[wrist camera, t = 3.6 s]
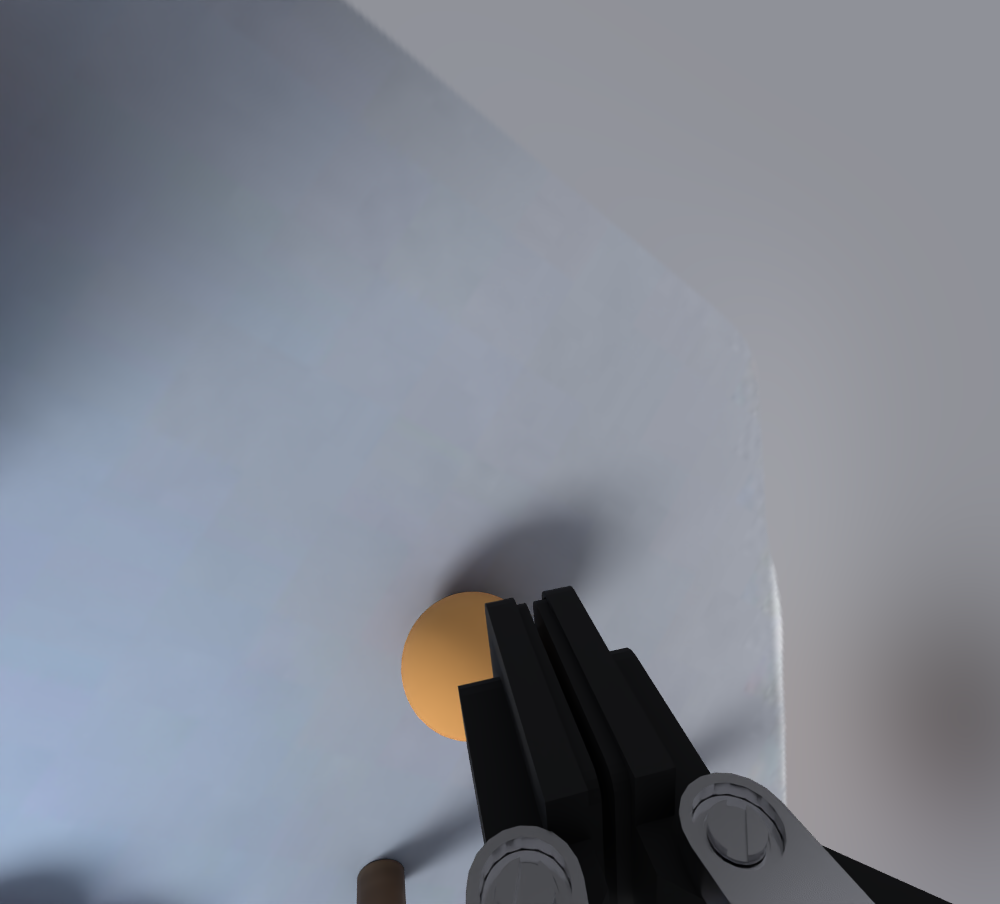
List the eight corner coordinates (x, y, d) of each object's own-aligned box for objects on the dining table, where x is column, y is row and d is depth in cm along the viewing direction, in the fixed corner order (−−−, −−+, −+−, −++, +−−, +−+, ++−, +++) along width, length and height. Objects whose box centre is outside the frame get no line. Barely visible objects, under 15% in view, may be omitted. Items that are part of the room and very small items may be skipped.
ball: (388, 580, 25) (393, 673, 19) (516, 554, 26) (555, 636, 20) (408, 683, 27) (418, 793, 22) (525, 655, 28) (563, 754, 23)
